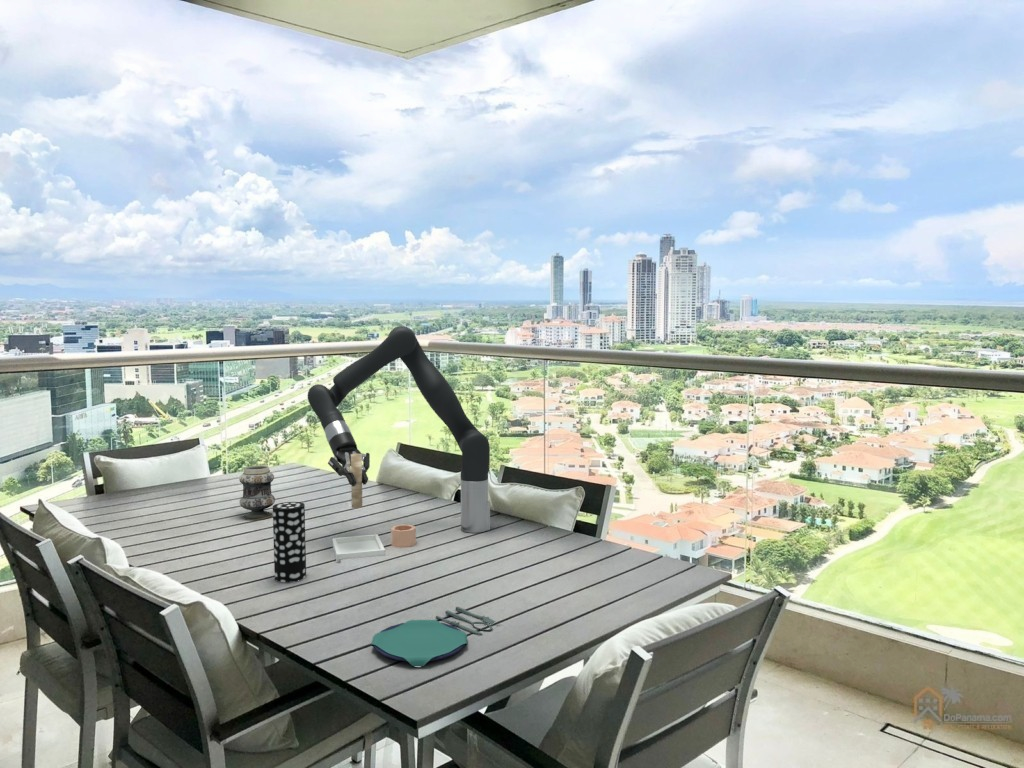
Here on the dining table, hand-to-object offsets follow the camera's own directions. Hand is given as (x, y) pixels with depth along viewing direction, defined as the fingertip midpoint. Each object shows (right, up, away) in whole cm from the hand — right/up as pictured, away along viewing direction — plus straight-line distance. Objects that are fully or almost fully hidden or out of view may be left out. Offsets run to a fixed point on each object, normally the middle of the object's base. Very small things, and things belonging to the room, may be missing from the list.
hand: (360, 483), depth 221 cm
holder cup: (+12, -21, +8) cm, 25 cm away
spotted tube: (-15, -23, -19) cm, 34 cm away
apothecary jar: (-46, -18, +45) cm, 66 cm away
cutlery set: (+29, -27, -58) cm, 70 cm away
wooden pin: (-1, -7, +2) cm, 8 cm away
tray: (-1, -21, +3) cm, 21 cm away
